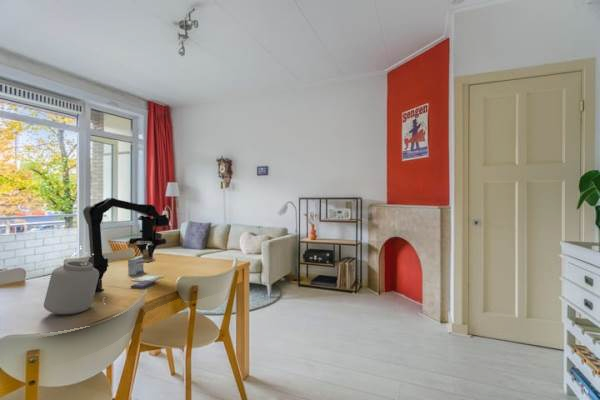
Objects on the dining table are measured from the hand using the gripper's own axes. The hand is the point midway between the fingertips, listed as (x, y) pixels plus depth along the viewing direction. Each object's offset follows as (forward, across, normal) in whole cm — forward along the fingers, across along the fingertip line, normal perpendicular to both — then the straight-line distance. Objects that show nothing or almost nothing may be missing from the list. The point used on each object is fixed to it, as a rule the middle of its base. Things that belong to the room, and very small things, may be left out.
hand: (147, 257), depth 154 cm
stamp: (+2, 0, 0) cm, 3 cm away
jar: (+12, -5, +43) cm, 45 cm away
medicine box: (+12, +15, -8) cm, 21 cm away
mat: (+12, 0, 0) cm, 12 cm away
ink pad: (+12, -7, +10) cm, 17 cm away
